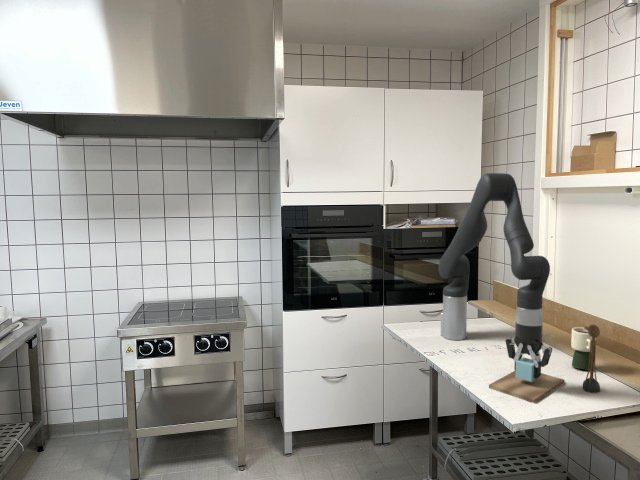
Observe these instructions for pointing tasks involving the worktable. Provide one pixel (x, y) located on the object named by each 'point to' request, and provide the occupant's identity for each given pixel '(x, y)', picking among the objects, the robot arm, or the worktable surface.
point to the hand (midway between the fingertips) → (527, 375)
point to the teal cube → (525, 369)
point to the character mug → (581, 348)
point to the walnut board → (527, 386)
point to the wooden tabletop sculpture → (592, 361)
